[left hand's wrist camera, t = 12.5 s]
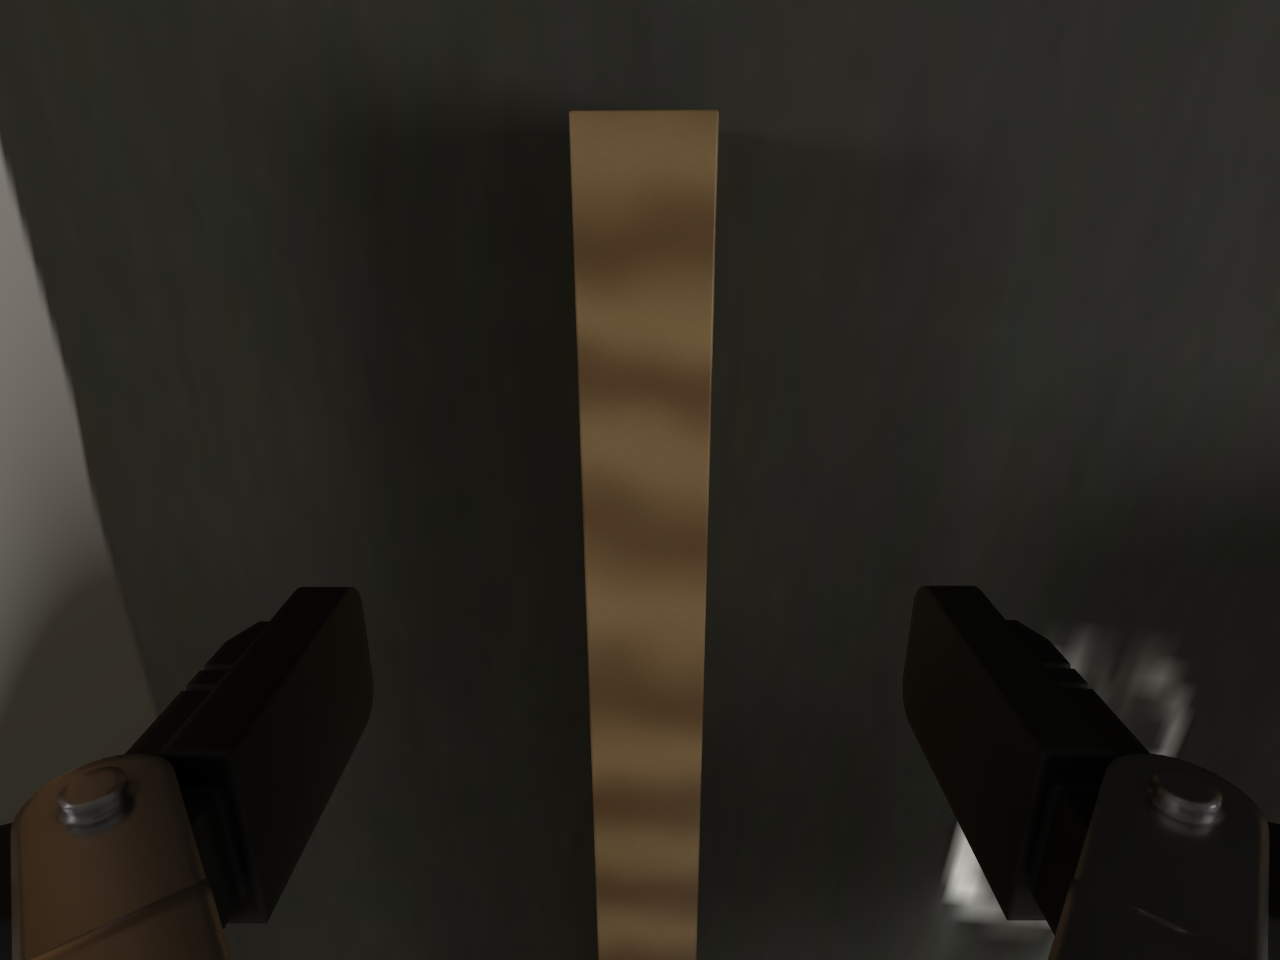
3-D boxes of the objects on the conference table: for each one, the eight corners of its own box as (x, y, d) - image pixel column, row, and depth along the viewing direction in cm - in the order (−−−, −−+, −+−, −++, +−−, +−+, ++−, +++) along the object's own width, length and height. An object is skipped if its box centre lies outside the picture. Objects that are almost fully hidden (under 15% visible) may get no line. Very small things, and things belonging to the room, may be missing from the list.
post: (586, 128, 32) (568, 110, 24) (699, 127, 32) (719, 108, 24) (610, 1004, 51) (605, 1162, 42) (682, 1003, 51) (691, 1161, 42)
